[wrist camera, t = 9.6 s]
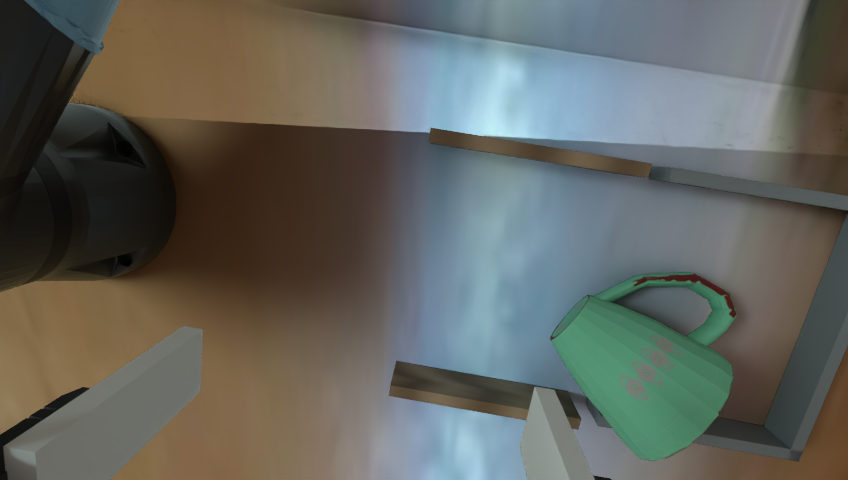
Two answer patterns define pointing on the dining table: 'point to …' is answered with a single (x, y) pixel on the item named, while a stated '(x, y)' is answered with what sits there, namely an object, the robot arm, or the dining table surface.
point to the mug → (649, 365)
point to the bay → (479, 389)
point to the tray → (815, 348)
